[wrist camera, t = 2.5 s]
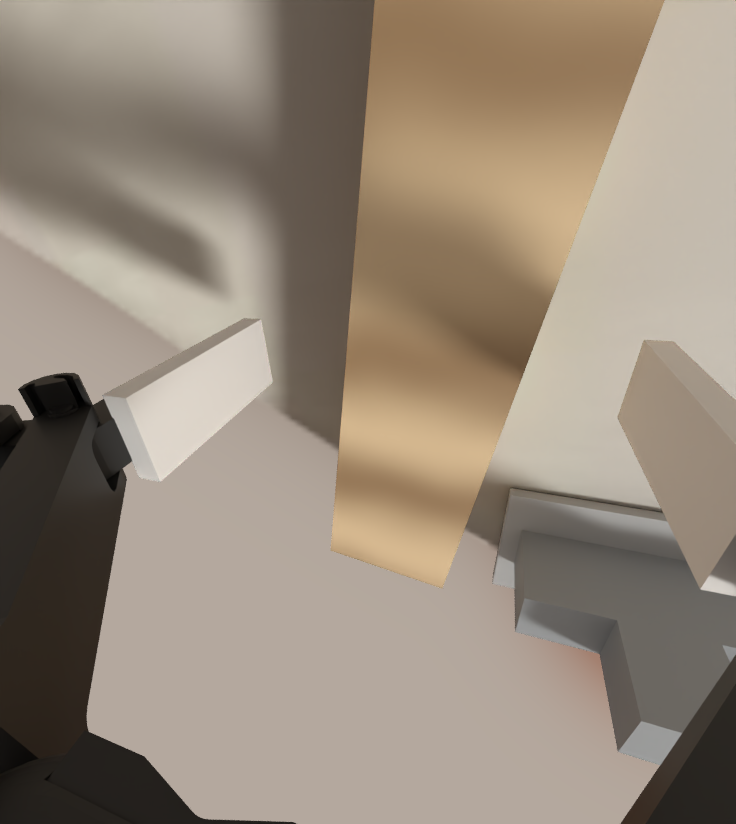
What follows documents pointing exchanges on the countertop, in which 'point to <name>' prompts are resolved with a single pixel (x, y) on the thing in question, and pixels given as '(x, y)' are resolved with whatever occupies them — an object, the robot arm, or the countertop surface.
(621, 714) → the bracket
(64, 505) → the robot arm
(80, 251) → the countertop surface
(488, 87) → the beam
